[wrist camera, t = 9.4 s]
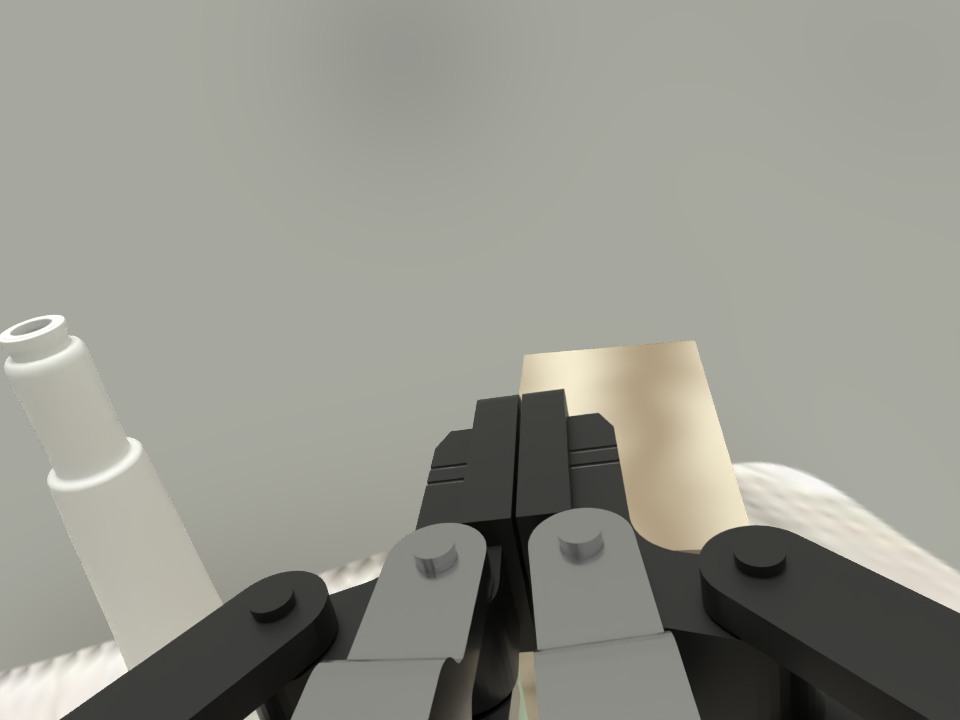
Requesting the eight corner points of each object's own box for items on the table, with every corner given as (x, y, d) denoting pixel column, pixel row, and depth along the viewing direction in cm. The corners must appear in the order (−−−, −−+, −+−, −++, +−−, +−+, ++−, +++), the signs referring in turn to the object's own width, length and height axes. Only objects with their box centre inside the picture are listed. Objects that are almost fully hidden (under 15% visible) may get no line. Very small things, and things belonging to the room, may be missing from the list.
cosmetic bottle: (303, 729, 36) (138, 315, 26) (181, 816, 33) (-57, 386, 23) (254, 658, 41) (97, 281, 31) (142, 729, 38) (-71, 337, 28)
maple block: (541, 788, 30) (497, 557, 24) (552, 545, 42) (524, 355, 37) (753, 791, 28) (756, 546, 23) (700, 538, 41) (694, 340, 35)
